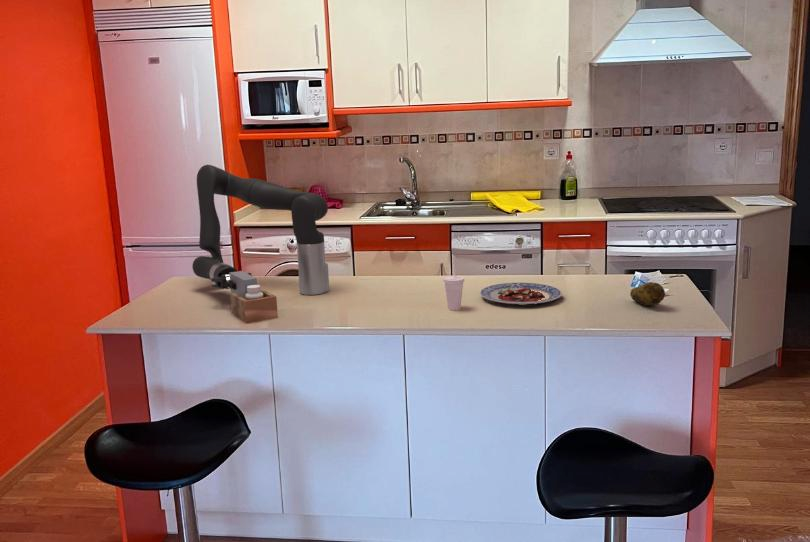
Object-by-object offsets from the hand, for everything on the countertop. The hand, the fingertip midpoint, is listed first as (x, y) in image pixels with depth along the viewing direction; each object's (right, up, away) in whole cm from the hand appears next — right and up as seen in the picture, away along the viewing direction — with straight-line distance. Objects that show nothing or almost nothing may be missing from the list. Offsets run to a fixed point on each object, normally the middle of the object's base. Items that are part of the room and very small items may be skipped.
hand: (242, 285), depth 234 cm
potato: (+124, -6, -9) cm, 124 cm away
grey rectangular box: (+1, -7, 0) cm, 7 cm away
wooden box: (+5, -9, -5) cm, 11 cm away
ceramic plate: (+88, -5, +5) cm, 88 cm away
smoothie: (+66, -7, -5) cm, 67 cm away
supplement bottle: (+6, -10, -7) cm, 13 cm away
